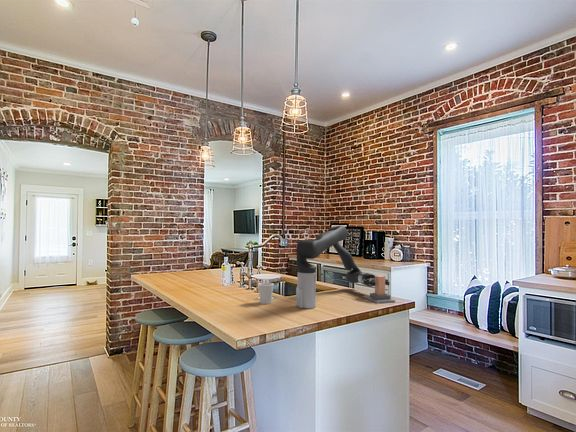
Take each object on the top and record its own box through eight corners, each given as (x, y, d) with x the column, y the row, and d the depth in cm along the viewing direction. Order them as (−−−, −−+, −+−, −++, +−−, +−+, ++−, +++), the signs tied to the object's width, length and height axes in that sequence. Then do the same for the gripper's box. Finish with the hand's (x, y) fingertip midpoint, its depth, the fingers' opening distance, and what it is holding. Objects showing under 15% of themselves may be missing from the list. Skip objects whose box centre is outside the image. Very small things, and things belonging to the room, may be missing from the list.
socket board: (377, 303, 176) (377, 297, 176) (362, 297, 190) (362, 292, 190) (395, 302, 179) (395, 296, 179) (379, 296, 193) (379, 291, 193)
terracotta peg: (378, 298, 182) (378, 276, 183) (374, 297, 186) (374, 275, 186) (385, 298, 183) (385, 276, 184) (381, 296, 187) (381, 275, 187)
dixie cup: (274, 301, 178) (274, 282, 179) (272, 304, 170) (272, 285, 170) (259, 300, 179) (259, 282, 180) (256, 304, 171) (256, 284, 171)
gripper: (356, 273, 197) (370, 277, 181) (377, 272, 201) (393, 276, 185) (356, 286, 197) (370, 291, 181) (377, 285, 201) (393, 290, 185)
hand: (382, 283), depth 183 cm, fingers open, 8 cm apart
